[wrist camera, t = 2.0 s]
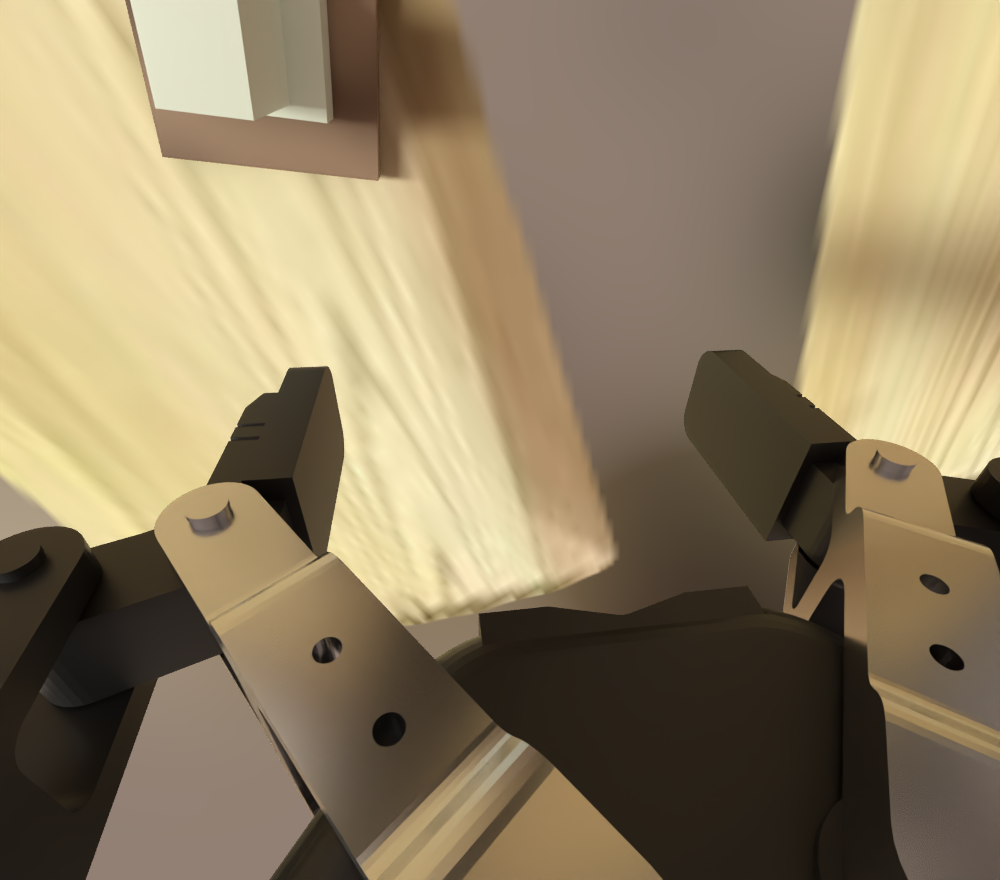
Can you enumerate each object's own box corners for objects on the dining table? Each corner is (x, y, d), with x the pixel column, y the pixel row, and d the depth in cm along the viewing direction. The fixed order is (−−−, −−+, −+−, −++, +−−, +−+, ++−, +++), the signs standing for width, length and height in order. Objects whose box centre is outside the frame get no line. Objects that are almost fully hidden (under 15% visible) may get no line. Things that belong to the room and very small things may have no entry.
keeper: (165, -52, 20) (47, -98, 14) (325, -24, 21) (284, -55, 15) (194, 100, 23) (109, 120, 17) (333, 118, 24) (302, 143, 18)
